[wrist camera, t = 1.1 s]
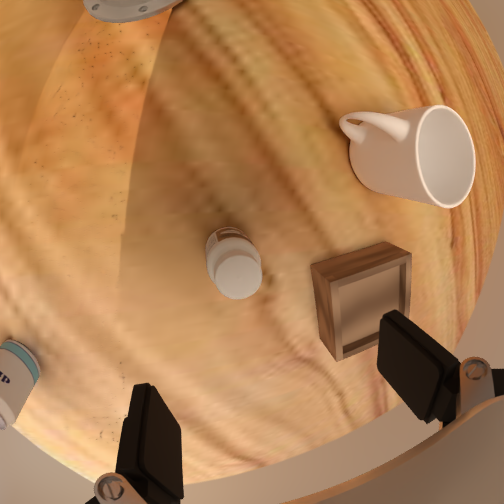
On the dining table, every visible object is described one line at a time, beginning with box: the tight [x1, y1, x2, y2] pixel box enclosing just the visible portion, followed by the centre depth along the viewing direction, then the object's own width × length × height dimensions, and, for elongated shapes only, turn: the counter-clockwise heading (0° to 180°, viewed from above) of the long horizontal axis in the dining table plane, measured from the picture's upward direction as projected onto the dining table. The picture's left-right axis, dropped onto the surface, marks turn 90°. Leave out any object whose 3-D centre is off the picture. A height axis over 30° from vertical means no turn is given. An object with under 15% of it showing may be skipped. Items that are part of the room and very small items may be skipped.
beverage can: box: [0, 339, 40, 430], centre depth 20 cm, size 7×7×12 cm
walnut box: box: [310, 241, 412, 362], centre depth 29 cm, size 10×10×5 cm
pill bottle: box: [205, 227, 262, 299], centre depth 23 cm, size 4×4×8 cm
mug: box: [339, 105, 476, 208], centre depth 22 cm, size 9×12×11 cm
